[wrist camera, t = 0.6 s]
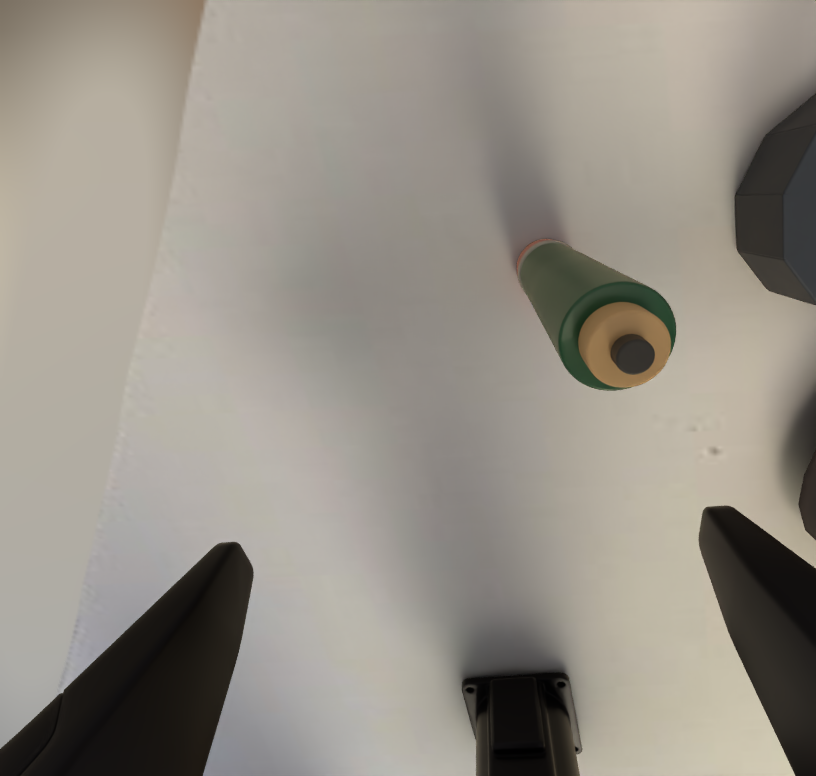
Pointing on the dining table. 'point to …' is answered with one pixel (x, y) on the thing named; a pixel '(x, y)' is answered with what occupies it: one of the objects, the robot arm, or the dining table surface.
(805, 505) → the casserole
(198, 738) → the robot arm
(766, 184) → the tape roll
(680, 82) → the dining table surface
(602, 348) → the pencil
